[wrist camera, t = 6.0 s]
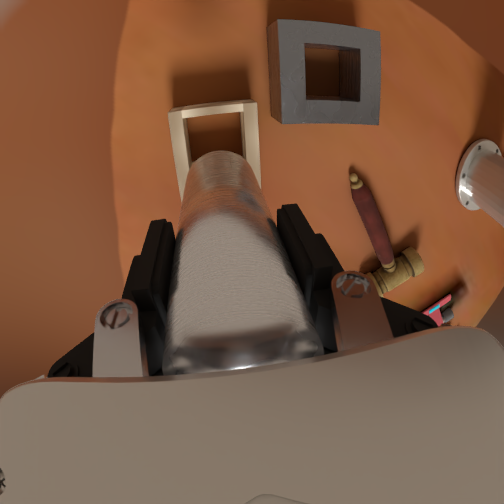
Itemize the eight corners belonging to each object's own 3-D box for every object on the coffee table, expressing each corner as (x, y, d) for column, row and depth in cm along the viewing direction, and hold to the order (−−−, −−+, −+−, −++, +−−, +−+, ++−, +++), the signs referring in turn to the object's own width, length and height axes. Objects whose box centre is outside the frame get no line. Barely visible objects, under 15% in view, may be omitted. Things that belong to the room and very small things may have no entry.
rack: (251, 99, 27) (262, 106, 21) (258, 230, 36) (268, 265, 30) (173, 107, 26) (162, 117, 20) (193, 238, 35) (191, 274, 30)
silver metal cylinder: (253, 147, 15) (335, 304, 6) (256, 210, 18) (314, 392, 8) (181, 155, 15) (138, 329, 5) (191, 217, 17) (184, 409, 8)
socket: (356, 34, 23) (380, 31, 19) (356, 116, 29) (378, 125, 25) (266, 27, 22) (277, 19, 18) (271, 116, 28) (281, 124, 24)
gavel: (323, 201, 32) (393, 160, 29) (311, 188, 35) (375, 150, 33) (375, 308, 42) (426, 276, 40) (364, 290, 46) (412, 260, 44)
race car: (471, 303, 46) (462, 351, 60) (456, 285, 51) (453, 335, 65) (418, 340, 49) (421, 378, 63) (405, 319, 54) (412, 361, 68)
